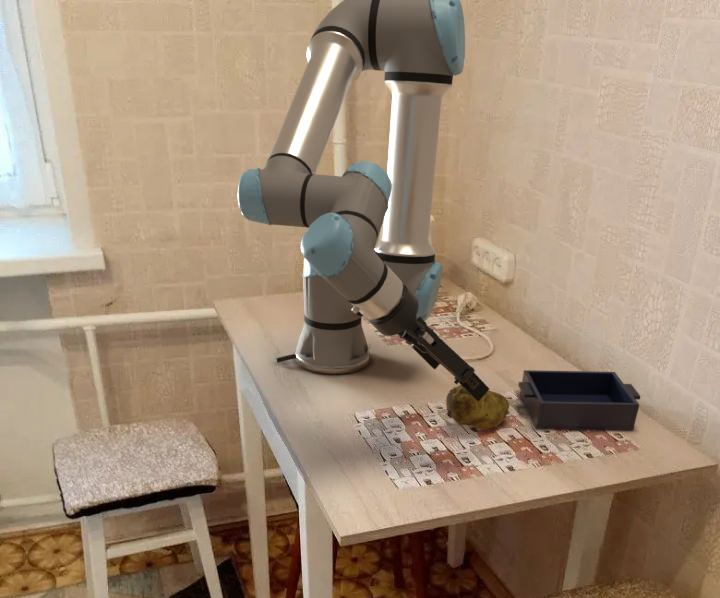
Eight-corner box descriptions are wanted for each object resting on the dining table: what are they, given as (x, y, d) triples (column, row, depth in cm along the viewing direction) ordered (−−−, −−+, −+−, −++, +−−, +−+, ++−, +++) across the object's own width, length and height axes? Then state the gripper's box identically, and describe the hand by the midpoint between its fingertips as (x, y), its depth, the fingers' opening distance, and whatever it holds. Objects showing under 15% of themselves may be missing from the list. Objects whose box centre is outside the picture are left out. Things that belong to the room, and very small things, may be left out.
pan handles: (523, 397, 132) (524, 394, 131) (518, 385, 136) (518, 381, 136) (639, 399, 132) (640, 396, 132) (630, 387, 137) (631, 383, 136)
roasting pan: (535, 428, 130) (540, 403, 127) (519, 394, 142) (523, 370, 139) (633, 430, 131) (639, 404, 128) (609, 396, 142) (614, 371, 140)
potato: (520, 432, 129) (527, 391, 124) (451, 440, 126) (455, 398, 121) (500, 411, 135) (506, 371, 131) (434, 418, 132) (438, 377, 128)
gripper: (333, 295, 119) (408, 367, 133) (408, 350, 100) (486, 427, 114) (364, 259, 118) (436, 335, 132) (445, 308, 100) (519, 390, 113)
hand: (460, 378), depth 123 cm, fingers open, 13 cm apart
